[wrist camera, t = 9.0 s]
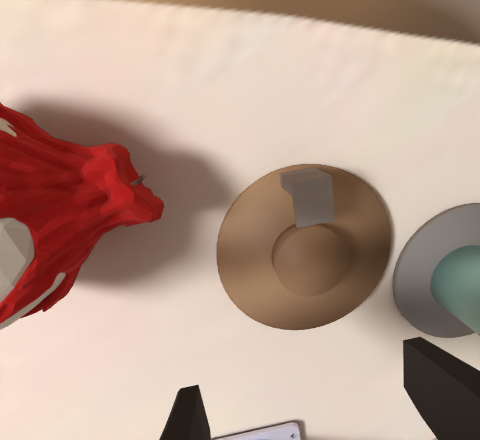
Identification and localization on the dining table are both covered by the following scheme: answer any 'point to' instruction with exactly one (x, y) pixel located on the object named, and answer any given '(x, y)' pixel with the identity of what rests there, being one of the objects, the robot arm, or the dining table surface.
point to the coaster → (423, 265)
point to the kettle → (459, 285)
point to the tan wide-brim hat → (303, 246)
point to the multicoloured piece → (58, 210)
